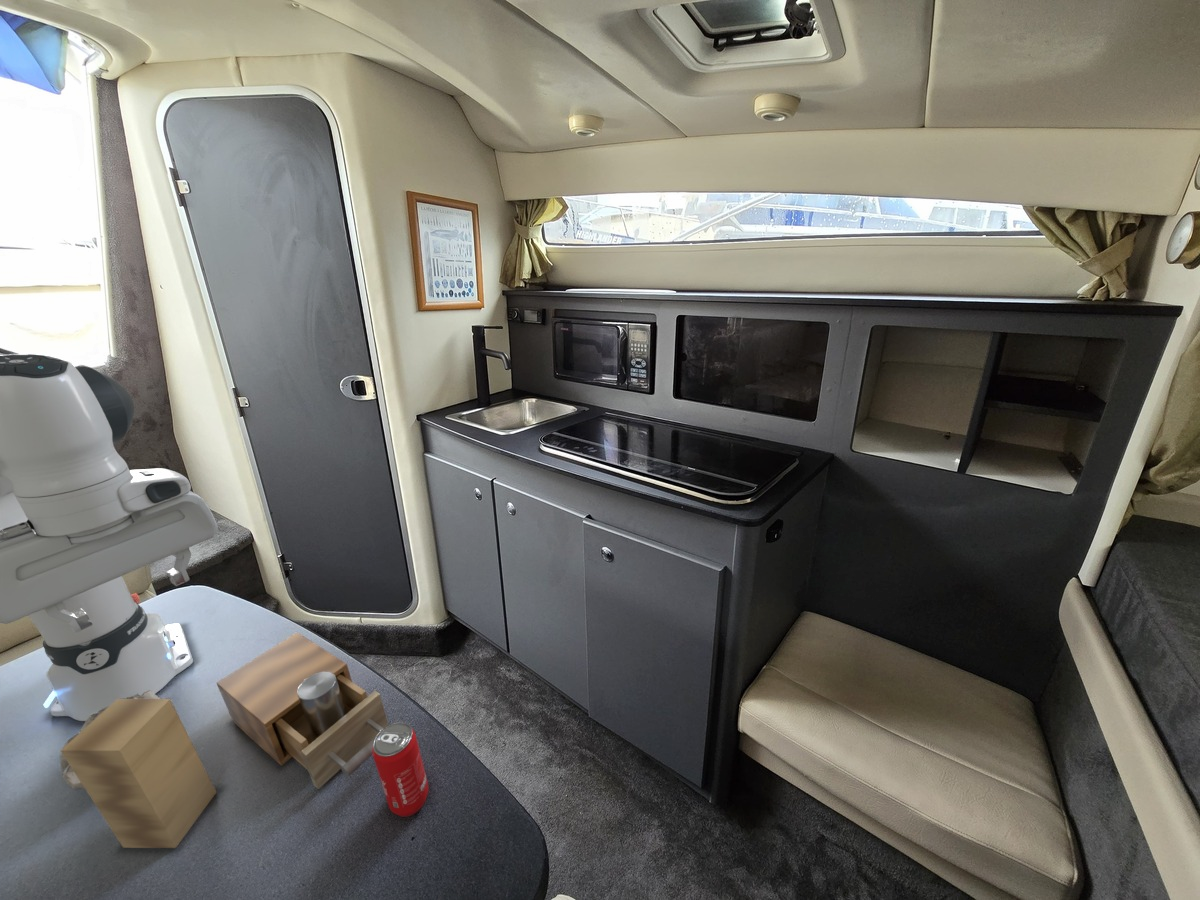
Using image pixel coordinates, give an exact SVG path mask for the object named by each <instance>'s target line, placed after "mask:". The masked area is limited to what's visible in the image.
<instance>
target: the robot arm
mask: <svg viewBox="0 0 1200 900" xmlns="http://www.w3.org/2000/svg"><path fill="white" fill-rule="evenodd" d="M134 416H135V405H134V400H133V398H132V396H131V394H130V392H129V391H128V390H127V389H126V388H125V387H124V385H122V384H121V383H120V382H119V381H118V380H116V379H114V378H113V377H112V376H109V375H108V374H106V373H104V372H102V371H100V370H98V369H96V368H93V367H91V366H88V365H84V364H73V363H72V362H70V361H69V360H67V359H65V358H62V357H58V356H55V355H50V354H42V353H18V352H15V351H12V350H8V349H4V348H2V347H0V624H7V625H8V624H11V623H13V622H16V621H19V620H21V619H24V618H25V617H28V618H29V619H30V620H31V623H32V624H33V625H34V627H35V628H36V629H37V631H38V633H39V634H40V636H41V637H42V639H43V640H42V647H43V649H44V653H45V655H46V657H47V658H48V659H49V660H50V661H51V663H52V664H51V665H50V666H49V668H48V670H47V671H46V673H45V675H46V678H47V680H48V683H49V685H50V687H51V689H52V692H51V693H50V694H49V696H48V697H47V699H46V700H45V702H44V703H43V707H44V708H45V709H47V708H49V707H50V705H51V704H52V702H53V700H54V699H55V698H56V701H54V703H53V705H52V706H51V707H50V710H49V711H50V714H51V716H52V717H69V718H72V719H73V720H76V721H79V722H86V721H87V719H88V718H89V717H90V715H92V714H93V713H96V712H98V711H99V710H101V709H102V708H105V707H108V706H110V705H111V704H112V703H113V702H114V701H116V700H117V699H119V698H127V697H132V696H134V695H136V694H140V695H142V694H143V693H144V692H146V691H149V690H150V691H152V692H153V693H154V694H155V695H156V694H157V693H158V692H160V691H161V690H162V689H163V688H165V686H166V685H167V684H169V683H170V682H171V681H172V679H173V678H175V677H176V676H177V675H178V674H180V673H181V672H183V671H184V670H186V669H187V668H189V667H190V666H191V665H193V662H194V659H193V655H192V653H191V649H190V647H189V643H188V641H187V638H186V634H185V632H184V629H183V627H182V625H181V623H168V624H165V623H164V621H163V620H162V617H161V616H160V614H158V613H155V612H146V611H145V609H144V608H143V607H142V606H140V596H139V594H138V593H137V592H134V593H131V592H130V590H129V588H128V586H127V584H126V581H125V579H124V578H123V576H125V575H128V574H130V573H132V572H134V571H137V570H139V569H141V568H144V567H146V566H148V565H151V564H154V563H156V562H158V561H161V560H163V559H165V558H168V557H170V556H173V557H174V558H175V561H174V564H173V568H171V569H169V570H166V575H167V576H168V577H169V581H170V583H172V585H174V586H175V587H178V586H180V585H182V584H184V583H187V582H189V581H190V576H189V574H188V572H187V569H188V566H189V564H190V561H191V557H192V552H191V550H190V548H192V547H194V546H196V545H198V544H201V543H203V542H206V541H208V540H211V539H213V538H214V537H215V536H216V534H217V533H218V529H219V526H218V523H217V521H216V518H215V516H214V514H213V512H212V510H211V509H210V507H209V506H208V504H207V503H206V501H205V499H204V498H203V497H202V496H200V495H199V494H197V493H196V492H194V491H192V490H191V489H192V484H191V482H190V481H189V479H188V478H187V477H186V476H184V475H183V474H181V473H179V472H177V471H174V470H171V469H168V468H162V467H161V468H160V467H158V468H157V467H156V468H145V469H144V468H143V469H141V468H140V469H129V466H128V463H127V462H126V460H125V459H124V458H123V457H122V456H121V455H120V454H119V453H118V451H117V450H116V448H115V445H114V443H117V442H121V441H122V440H123V439H124V438H125V436H126V435H127V434H128V432H129V430H130V427H131V426H132V423H133V420H134Z"/></svg>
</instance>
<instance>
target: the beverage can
mask: <svg viewBox="0 0 1200 900" xmlns="http://www.w3.org/2000/svg"><path fill="white" fill-rule="evenodd" d="M372 756H373V760H374V763H375V766H376V769H377V772H378V773H377V774H378V776H379V779H380V783H381V786H382V789H383V792H384V796H385V799H386V802H387V806H388V809H389V810H390V811H391V812H392V813H393V814H395V815H397V817H401V818H408V817H410V816H413V815H415V814H417V813H418V812H419V811H420V810H421V809H422V808H423V807H424V805H425V804H426V800H427V796H428V794H429V783H428V779H427V778H428V777H427V774H426V771H425V767H424V762H423V759H422V754H421V751H420V747H419V743H418V739H417V735H416V731H415V730H414V728H412V727H411V725H410V724H408V723H406V722H403V721H400V722H398V721H397V722H394V723H391V724H388V726H387V727H385V728H384V729H382V730H381V731H380V732H379V733H378V735H377V736H376V738H375V740H374V744H373V754H372Z"/></svg>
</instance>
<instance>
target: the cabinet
mask: <svg viewBox="0 0 1200 900" xmlns="http://www.w3.org/2000/svg"><path fill="white" fill-rule="evenodd" d="M325 671H327V672H332V673H333V674H335V676H337V675H338V674H341V675H342V676H344V677H345V678H347V679H348V680H350V681H351V682H353V679H352V676H351V673H350V671H349V667H348V664H347V663H346V662H344V661H343V660H342V659H340V658H338V657H337V656H335V655H334V654H332V653H331V652H329V651H328V650H326V649H324V648H323V647H321V646H320V645H319V644H316V643H315V642H313V641H312V640H310V639H309V638H307V637H305V636H304V635H302V634H301V633H299V632H298V631H296V632H295V633H293V634H292V635H290V636H288V637H287V638H285V639H283V640H282V641H281V642H279V643H277V644H276V645H274V646H273V647H271V648H269V649H268V650H266V651H265V652H263V653H261V654H260V655H258V656H257V657H255V658H254V659H252V660H250V661H249V662H247V663H245V664H244V665H242V666H241V667H239V668H237V669H236V670H235V671H233V672H231V673H229V674H228V675H226V676H225V677H223V678H221V679H220V680H219V681H217V682H216V686H217V687H218V690H219V693H220V695H221V697H222V700H223V702H224V704H225V706H226V708H227V711H228V713H229V715H230V717H231V719H232V721H233V724H234V725H236V726H237V727H238V728H239V729H240V730H241V731H243V732H244V733H245V734H246V735H247V736H248V737H249V738H250V739H251V740H252V741H254V742H255V743H256V744H257V745H258V746H259V747H260V748H261V749H262V750H263V751H264V752H266V753H267V754H268V755H269V756H270V757H271V758H272V759H273V760H274V761H275V762H277V763H278V765H279V766H283V765H285V764H286V763H287V762H288V761H290V759H292V758H293V757H292V756H291V755H290V754H289V753H288V752H286V751H285V750H284V749H283V748H282V747H281V746H280V744H279V741H278V739H277V736H276V734H275V731H274V729H273V726H272V723H274V722H275V721H277V720H278V719H279V718H281V717H282V716H283V715H285V714H286V713H287V712H289V711H290V710H291V709H293V708H294V707H295V706H297V705H298V704H299V703H300V701H299V698H298V695H297V690H298V688H299V686H300V685H301V683H302V682H303V681H304V680H305V679H307V678H308V677H310V676H312V675H314V674H316V673H319V672H325Z"/></svg>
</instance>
